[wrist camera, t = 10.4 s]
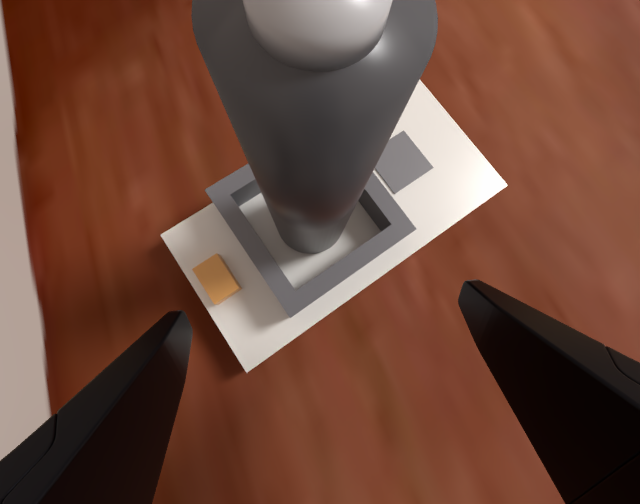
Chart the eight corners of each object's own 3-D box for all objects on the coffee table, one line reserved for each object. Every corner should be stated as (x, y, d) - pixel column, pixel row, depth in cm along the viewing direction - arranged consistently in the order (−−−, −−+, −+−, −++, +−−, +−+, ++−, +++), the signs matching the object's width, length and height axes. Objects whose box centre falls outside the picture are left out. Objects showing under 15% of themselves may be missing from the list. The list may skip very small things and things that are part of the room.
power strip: (251, 367, 17) (238, 382, 14) (172, 240, 19) (141, 226, 15) (493, 194, 20) (531, 171, 17) (410, 93, 21) (429, 52, 18)
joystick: (347, 250, 17) (479, 85, 4) (279, 256, 17) (178, 104, 4) (340, 185, 18) (430, -138, 5) (273, 191, 18) (172, -134, 5)
